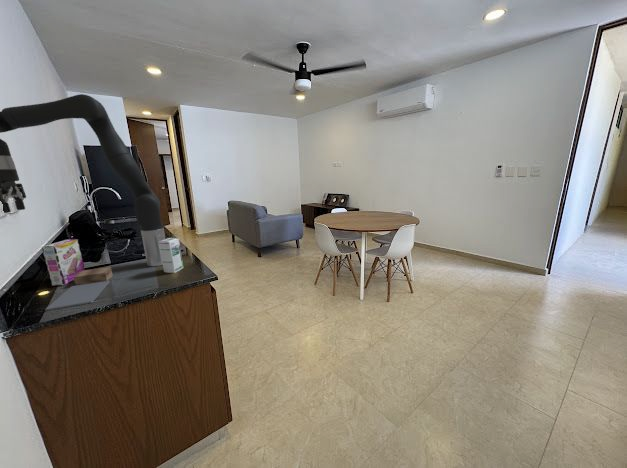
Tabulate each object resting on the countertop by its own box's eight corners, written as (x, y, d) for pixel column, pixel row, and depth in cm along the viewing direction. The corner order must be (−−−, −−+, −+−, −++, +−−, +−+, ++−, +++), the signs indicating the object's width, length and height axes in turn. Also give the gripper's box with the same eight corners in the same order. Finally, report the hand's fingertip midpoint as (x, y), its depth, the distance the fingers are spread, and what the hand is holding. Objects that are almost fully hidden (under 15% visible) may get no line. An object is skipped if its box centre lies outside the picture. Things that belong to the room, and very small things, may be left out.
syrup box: (175, 273, 110) (169, 241, 107) (163, 272, 111) (157, 240, 108) (184, 268, 116) (179, 237, 112) (172, 267, 117) (167, 237, 113)
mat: (109, 281, 103) (109, 280, 103) (91, 303, 86) (91, 301, 86) (72, 287, 98) (71, 286, 98) (45, 310, 82) (45, 309, 82)
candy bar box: (65, 285, 100) (54, 246, 96) (51, 286, 100) (40, 246, 96) (87, 274, 111) (78, 238, 107) (75, 275, 111) (65, 239, 106)
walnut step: (112, 275, 109) (110, 266, 108) (107, 281, 103) (105, 272, 102) (83, 279, 105) (81, 270, 104) (76, 286, 99) (73, 277, 98)
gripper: (0, 168, 90) (15, 213, 94) (26, 168, 103) (37, 208, 107) (-29, 168, 87) (-13, 214, 91) (0, 168, 100) (13, 209, 104)
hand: (14, 211), depth 99 cm, fingers open, 8 cm apart
